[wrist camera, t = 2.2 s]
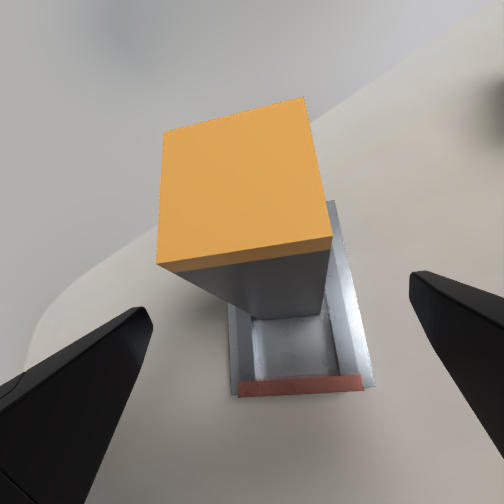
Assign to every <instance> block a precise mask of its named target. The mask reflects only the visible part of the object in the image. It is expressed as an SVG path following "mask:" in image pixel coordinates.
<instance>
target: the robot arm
mask: <svg viewBox="0 0 504 504" xmlns="http://www.w3.org/2000/svg"><path fill="white" fill-rule="evenodd" d="M409 299H410V302H411V304H412V306H413V308H414V310H415V313H416V315H417V317H418V319H419V321H420V323H421V325H422V327H423V329H424V331H425V333H426V335H427V337H428V339H429V341H430V343H431V345H432V347H433V348H434V350H435V352H436V353H437V355H438V357H439V358H440V360H441V361H442V363H443V364H444V366H445V368H446V369H447V371H448V372H449V374H450V375H451V377H452V379H453V380H454V382H455V383H456V385H457V386H458V388H459V390H460V391H461V393H462V394H463V396H464V397H465V399H466V401H467V402H468V404H469V405H470V407H471V408H472V410H473V411H474V413H475V415H476V416H477V418H478V419H479V421H480V422H481V424H482V426H483V427H484V429H485V430H486V432H487V433H488V435H489V437H490V438H491V440H492V441H493V443H494V444H495V446H496V448H497V449H498V451H499V452H500V454H501V455H502V457H503V459H504V298H503V297H500V296H497V295H495V294H492V293H489V292H486V291H483V290H480V289H478V288H475V287H472V286H469V285H466V284H463V283H460V282H458V281H455V280H452V279H449V278H446V277H443V276H440V275H438V274H435V273H432V272H429V271H417V272H412V273H411V274H410V280H409ZM152 332H153V324H152V321H151V319H150V317H149V315H148V313H147V311H146V309H145V308H144V307H142V306H141V307H133V308H131V309H129V310H127V311H126V312H124V313H122V314H121V315H119V316H117V317H115V318H114V319H112V320H110V321H109V322H107V323H105V324H104V325H102V326H100V327H99V328H97V329H95V330H94V331H92V332H90V333H89V334H87V335H85V336H84V337H82V338H80V339H79V340H77V341H75V342H74V343H72V344H70V345H69V346H67V347H65V348H63V349H62V350H60V351H58V352H57V353H55V354H53V355H52V356H50V357H48V358H47V359H45V360H43V361H42V362H40V363H38V364H37V365H35V366H33V367H32V368H30V369H28V370H27V371H26V372H23V373H21V374H20V375H18V376H16V377H15V378H13V379H11V380H10V381H8V382H6V383H5V384H3V385H1V386H0V504H84V503H85V501H86V498H87V496H88V493H89V491H90V489H91V486H92V484H93V482H94V479H95V477H96V474H97V472H98V470H99V467H100V465H101V463H102V460H103V458H104V455H105V453H106V451H107V448H108V446H109V444H110V441H111V439H112V436H113V434H114V432H115V429H116V427H117V425H118V422H119V420H120V417H121V415H122V413H123V410H124V408H125V406H126V403H127V401H128V398H129V396H130V394H131V391H132V389H133V387H134V384H135V382H136V379H137V377H138V375H139V372H140V369H141V367H142V364H143V361H144V357H145V354H146V351H147V348H148V345H149V341H150V338H151V335H152Z"/></svg>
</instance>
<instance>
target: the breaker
mask: <svg viewBox="0 0 504 504" xmlns="http://www.w3.org/2000/svg"><path fill="white" fill-rule="evenodd" d="M159 204H160V205H159V220H158V237H157V254H156V264H157V265H159V266H161V267H163V268H165V269H167V270H169V271H170V272H172V273H174V274H176V275H178V276H180V277H182V278H183V279H185V280H187V281H189V282H191V283H193V284H195V285H196V286H198V287H200V288H202V289H204V290H206V291H208V292H209V293H211V294H213V295H215V296H217V297H219V298H221V299H223V300H224V301H226V302H228V303H230V304H232V305H234V306H236V307H237V308H239V309H241V310H243V311H245V312H247V313H249V314H250V315H252V316H254V317H256V318H258V319H260V320H271V319H280V318H290V317H299V316H308V315H318V314H321V308H322V302H323V295H324V289H325V283H326V277H327V270H328V264H329V258H330V251H331V245H332V239H333V234H332V229H331V224H330V219H329V215H328V210H327V205H326V200H325V196H324V191H323V186H322V181H321V176H320V172H319V167H318V162H317V157H316V153H315V148H314V143H313V138H312V134H311V129H310V124H309V119H308V115H307V110H306V106H305V100H304V97H300V98H296V99H292V100H288V101H284V102H280V103H276V104H273V105H269V106H265V107H261V108H257V109H253V110H249V111H245V112H241V113H237V114H233V115H229V116H226V117H221V118H217V119H214V120H210V121H206V122H202V123H198V124H194V125H190V126H186V127H182V128H178V129H175V130H170V131H166V132H164V134H163V150H162V168H161V185H160V202H159Z"/></svg>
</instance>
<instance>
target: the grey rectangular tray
mask: <svg viewBox="0 0 504 504" xmlns="http://www.w3.org/2000/svg"><path fill="white" fill-rule="evenodd" d="M326 205H327V210H328V215H329V219H330V224H331V229H332V234H333V239H332V245H331V251H330V258H329V264H328V270H327V277H326V283H325V289H324V295H323V302H322V308H321V314H318V315H308V316H299V317H290V318H280V319H271V320H260V319H258V318H256V317H254V316H252V315H250V314H249V313H247V312H245V311H243V310H241V309H239V308H237V307H236V306H234V305H232V304H230V303H228V302H227V304H228V326H229V348H230V371H231V393H232V395H238V398H240V397H258V396H277V395H295V394H313V393H331V392H349V391H364V388H363V387H376V384H375V379H374V375H373V370H372V366H371V361H370V357H369V352H368V348H367V344H366V339H365V335H364V330H363V326H362V321H361V317H360V312H359V308H358V303H357V299H356V294H355V290H354V286H353V281H352V277H351V272H350V268H349V263H348V259H347V254H346V250H345V245H344V241H343V237H342V232H341V228H340V223H339V219H338V214H337V210H336V205H335V201H334V200H332V201H326Z"/></svg>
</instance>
